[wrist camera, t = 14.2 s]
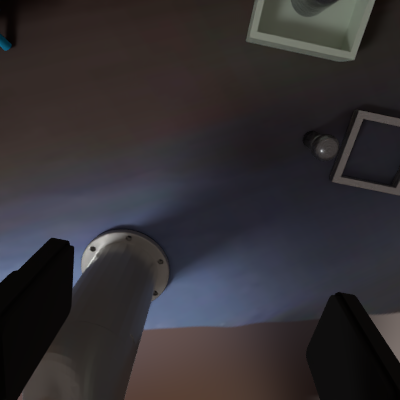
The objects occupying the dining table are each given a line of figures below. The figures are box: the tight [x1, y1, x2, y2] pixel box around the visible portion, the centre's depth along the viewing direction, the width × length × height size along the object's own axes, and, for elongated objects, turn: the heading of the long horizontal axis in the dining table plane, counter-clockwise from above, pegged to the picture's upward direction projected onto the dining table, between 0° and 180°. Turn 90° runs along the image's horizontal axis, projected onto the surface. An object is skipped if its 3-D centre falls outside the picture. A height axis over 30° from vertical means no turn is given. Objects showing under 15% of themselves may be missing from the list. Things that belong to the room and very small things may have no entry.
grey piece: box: [303, 109, 400, 196], centre depth 34 cm, size 9×14×6 cm, turn 79°
